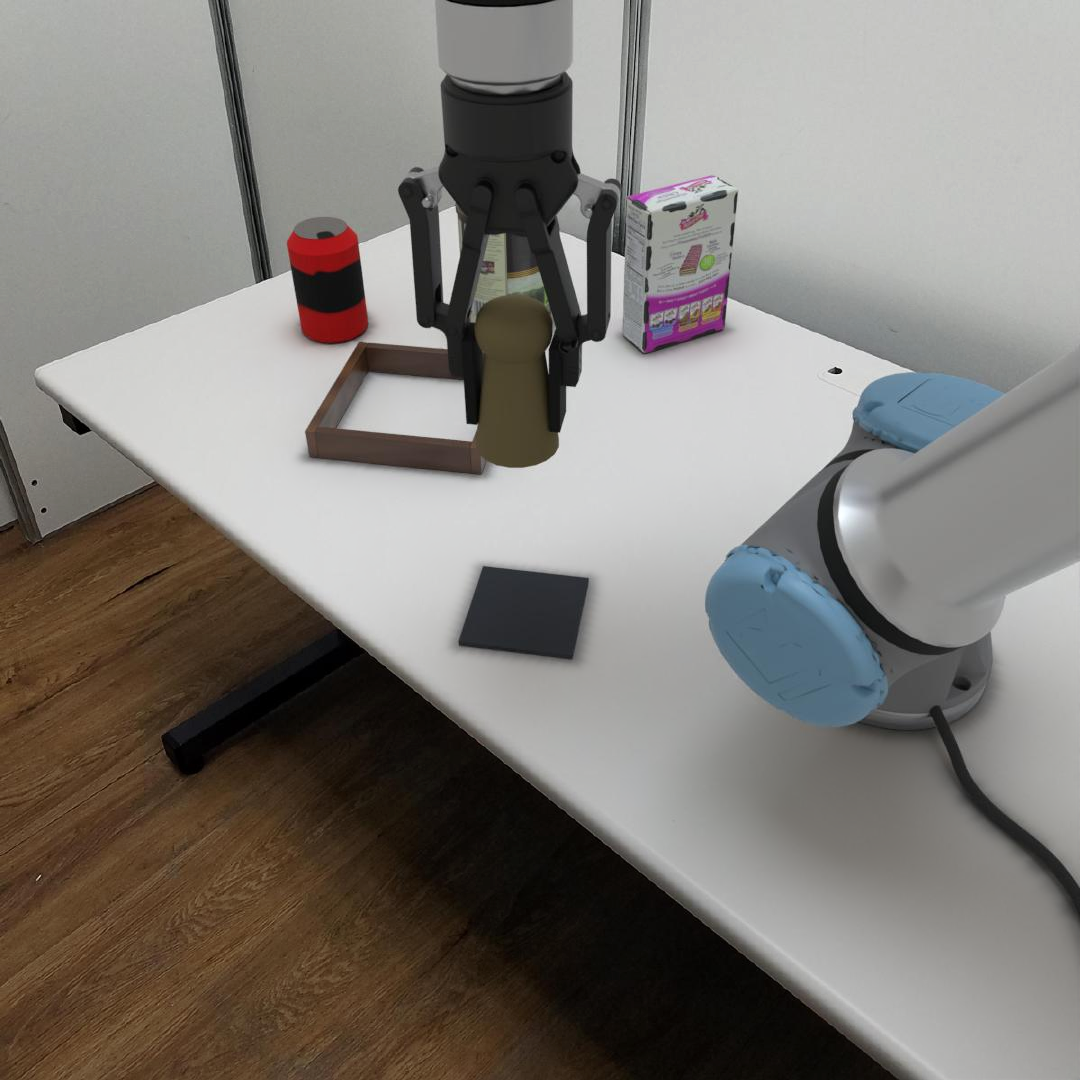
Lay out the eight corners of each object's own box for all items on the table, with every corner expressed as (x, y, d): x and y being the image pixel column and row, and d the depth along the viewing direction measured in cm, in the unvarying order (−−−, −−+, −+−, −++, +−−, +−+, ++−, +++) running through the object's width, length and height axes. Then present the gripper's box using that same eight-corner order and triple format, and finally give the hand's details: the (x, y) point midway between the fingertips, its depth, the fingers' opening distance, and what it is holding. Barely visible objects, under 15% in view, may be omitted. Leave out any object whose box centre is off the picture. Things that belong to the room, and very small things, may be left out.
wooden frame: (481, 474, 100) (480, 448, 98) (309, 457, 102) (304, 431, 101) (516, 379, 113) (515, 354, 111) (362, 365, 115) (358, 341, 113)
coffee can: (552, 298, 127) (552, 182, 117) (551, 342, 119) (551, 221, 110) (465, 298, 127) (458, 182, 118) (459, 342, 119) (451, 221, 110)
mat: (572, 659, 82) (572, 655, 82) (458, 645, 83) (458, 641, 83) (588, 581, 89) (588, 577, 88) (483, 569, 90) (482, 565, 90)
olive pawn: (519, 410, 80) (515, 274, 73) (576, 443, 76) (578, 304, 69) (457, 443, 77) (447, 304, 69) (515, 478, 73) (510, 337, 66)
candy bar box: (699, 311, 124) (713, 172, 113) (725, 330, 120) (742, 188, 110) (618, 335, 120) (624, 193, 109) (642, 355, 116) (651, 211, 106)
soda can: (311, 350, 118) (294, 248, 110) (294, 319, 123) (277, 220, 115) (377, 335, 120) (365, 234, 112) (357, 306, 125) (344, 208, 118)
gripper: (673, 59, 62) (651, 400, 77) (371, 46, 64) (406, 378, 79) (661, 102, 56) (639, 461, 71) (330, 86, 59) (376, 435, 74)
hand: (516, 417), depth 75 cm, fingers closed on olive pawn, 5 cm apart
